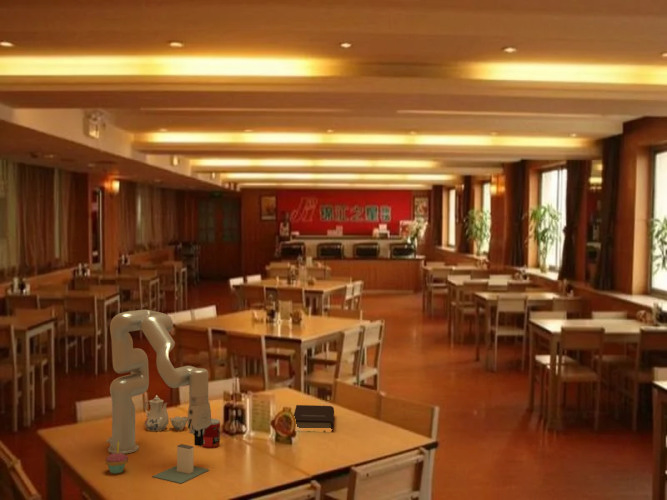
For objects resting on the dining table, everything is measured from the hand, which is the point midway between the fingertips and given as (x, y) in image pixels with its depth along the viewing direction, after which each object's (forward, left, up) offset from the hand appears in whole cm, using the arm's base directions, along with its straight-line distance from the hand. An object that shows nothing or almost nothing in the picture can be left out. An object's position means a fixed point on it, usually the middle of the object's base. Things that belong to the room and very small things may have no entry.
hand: (198, 445), depth 284 cm
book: (+9, +78, -9) cm, 79 cm away
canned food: (-12, +24, -9) cm, 28 cm away
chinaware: (-49, +34, -9) cm, 61 cm away
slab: (0, -8, -8) cm, 12 cm away
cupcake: (-23, -21, -9) cm, 33 cm away
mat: (0, -10, -9) cm, 13 cm away
